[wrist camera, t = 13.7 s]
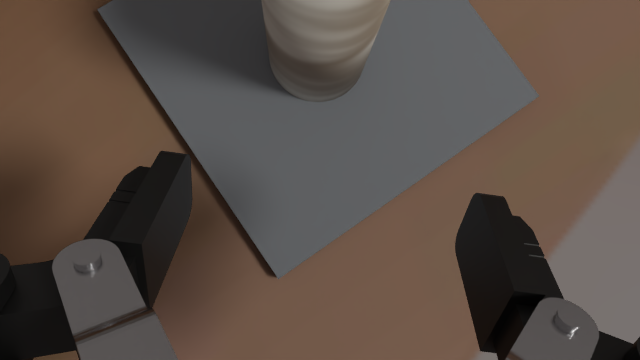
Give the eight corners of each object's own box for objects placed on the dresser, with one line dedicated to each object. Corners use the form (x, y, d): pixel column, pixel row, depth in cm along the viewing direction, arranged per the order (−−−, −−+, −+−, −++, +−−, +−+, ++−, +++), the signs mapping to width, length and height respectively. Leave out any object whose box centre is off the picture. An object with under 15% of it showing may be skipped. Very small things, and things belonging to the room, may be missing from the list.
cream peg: (304, 120, 23) (312, 32, 14) (250, 42, 24) (219, -99, 14) (383, 68, 24) (445, -53, 14) (329, -7, 24) (353, -176, 14)
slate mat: (278, 278, 23) (278, 278, 22) (101, 15, 24) (97, 9, 24) (533, 99, 25) (539, 96, 24) (357, -137, 26) (358, -146, 25)
